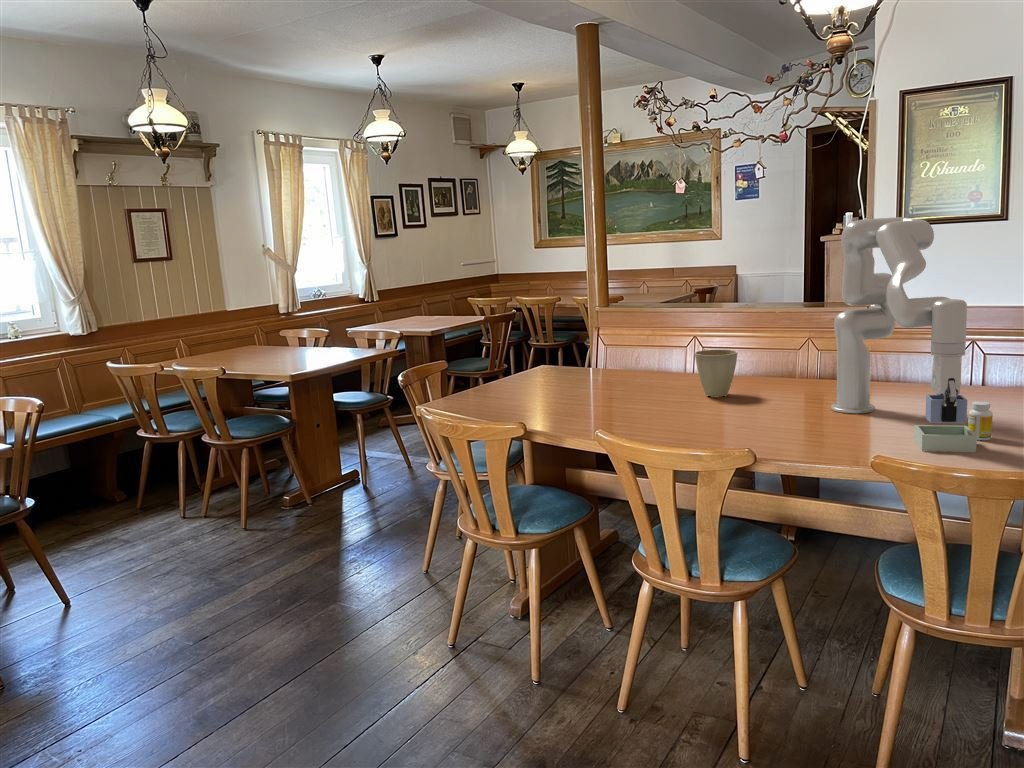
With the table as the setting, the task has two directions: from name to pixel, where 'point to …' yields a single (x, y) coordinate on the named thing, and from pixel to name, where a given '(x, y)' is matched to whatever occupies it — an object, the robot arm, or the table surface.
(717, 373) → the plant pot
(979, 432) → the supplement bottle
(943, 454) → the table surface
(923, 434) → the large crate
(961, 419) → the small crate
